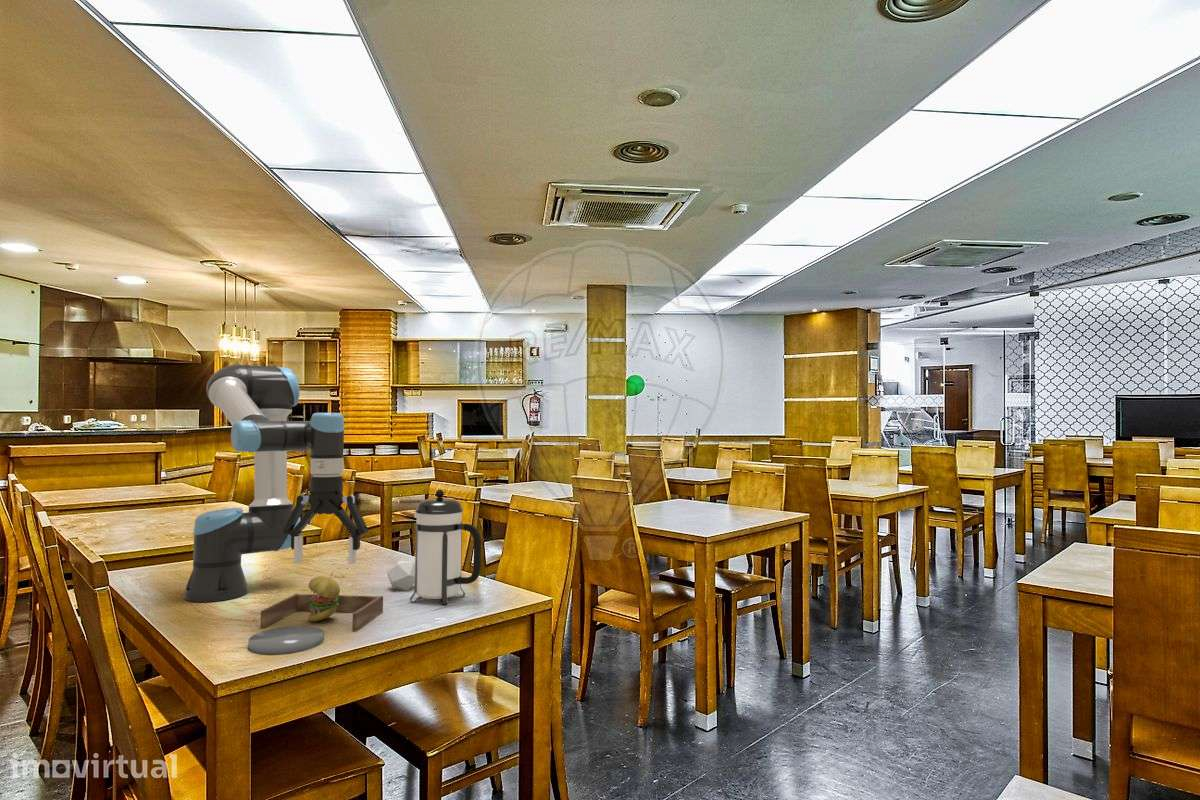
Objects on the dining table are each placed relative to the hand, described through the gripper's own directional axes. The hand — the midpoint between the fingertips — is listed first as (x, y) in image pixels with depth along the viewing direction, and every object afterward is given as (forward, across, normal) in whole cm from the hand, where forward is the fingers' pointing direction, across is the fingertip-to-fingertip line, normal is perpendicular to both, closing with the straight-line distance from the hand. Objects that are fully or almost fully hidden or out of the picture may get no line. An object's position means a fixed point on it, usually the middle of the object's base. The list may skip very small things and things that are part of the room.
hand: (325, 563), depth 166 cm
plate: (+14, 0, -17) cm, 22 cm away
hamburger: (+14, 0, 0) cm, 14 cm away
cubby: (+14, 0, 0) cm, 14 cm away
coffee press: (+14, +23, +22) cm, 35 cm away
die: (+14, +8, +33) cm, 37 cm away
